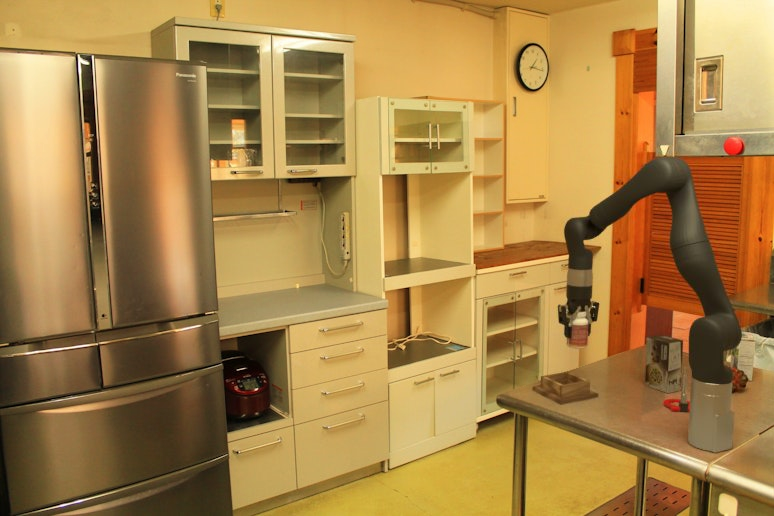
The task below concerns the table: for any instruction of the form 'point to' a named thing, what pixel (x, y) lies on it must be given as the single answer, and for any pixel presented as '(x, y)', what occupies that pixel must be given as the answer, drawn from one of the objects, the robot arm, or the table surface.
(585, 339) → the pill bottle
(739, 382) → the dragon fruit
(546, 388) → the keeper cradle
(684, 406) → the tow hook
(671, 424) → the table surface
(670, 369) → the coffee box
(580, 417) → the table surface
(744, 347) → the syrup box
